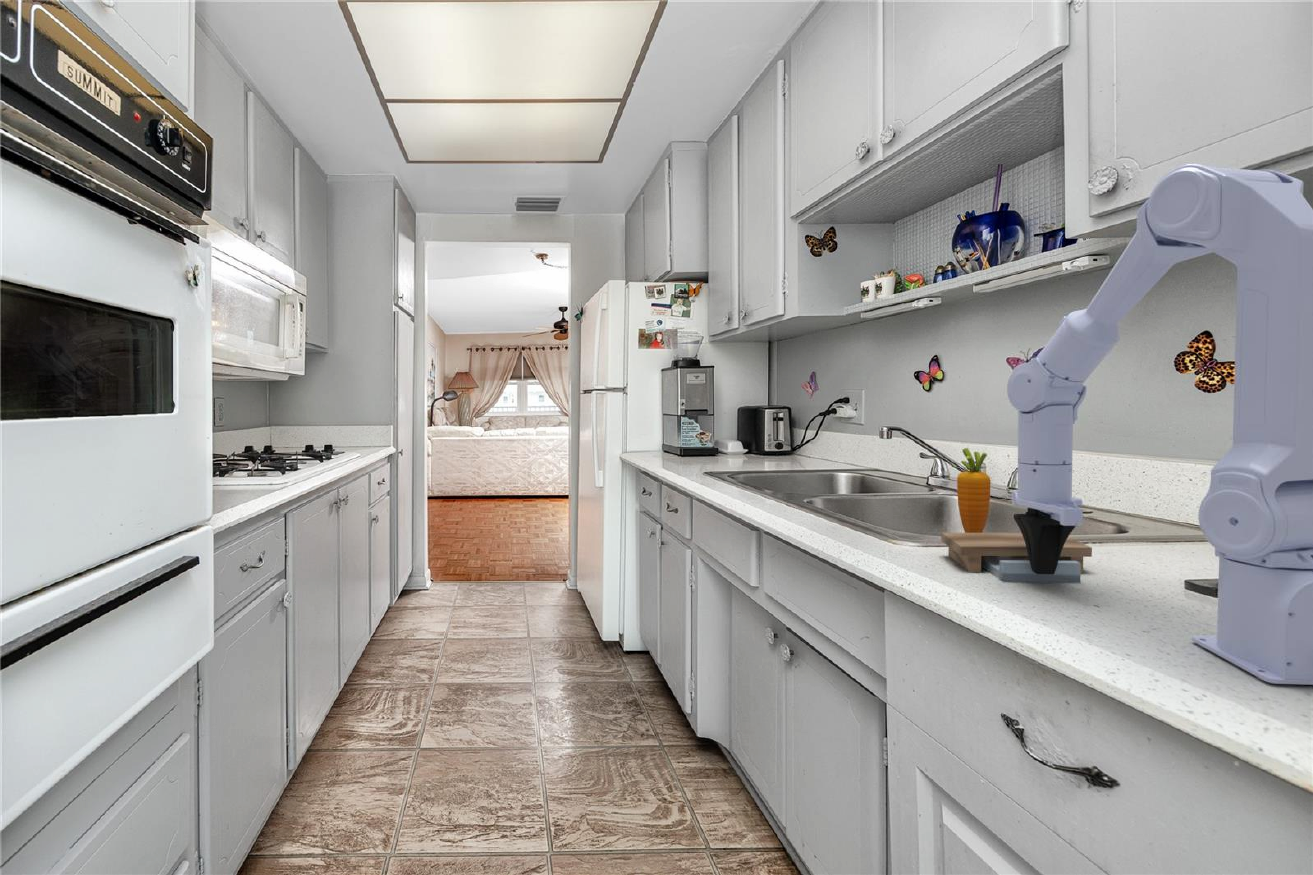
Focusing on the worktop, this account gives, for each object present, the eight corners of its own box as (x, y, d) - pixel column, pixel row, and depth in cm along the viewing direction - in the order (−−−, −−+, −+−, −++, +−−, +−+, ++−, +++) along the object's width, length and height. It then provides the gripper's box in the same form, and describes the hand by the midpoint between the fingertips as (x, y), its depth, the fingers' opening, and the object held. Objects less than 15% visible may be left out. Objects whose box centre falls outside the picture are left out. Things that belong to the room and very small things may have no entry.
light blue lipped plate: (1080, 584, 81) (1080, 563, 81) (1003, 583, 82) (1003, 562, 82) (1040, 561, 92) (1041, 543, 92) (973, 561, 93) (973, 543, 93)
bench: (1091, 573, 85) (1091, 547, 85) (961, 571, 87) (961, 546, 87) (1058, 556, 94) (1059, 533, 94) (941, 555, 96) (941, 532, 96)
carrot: (997, 546, 100) (998, 449, 100) (964, 547, 100) (965, 450, 100) (981, 539, 105) (981, 446, 105) (950, 540, 105) (950, 447, 105)
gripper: (1113, 469, 72) (1110, 590, 73) (1052, 457, 87) (1051, 558, 87) (1044, 469, 73) (1043, 589, 74) (995, 457, 88) (995, 558, 88)
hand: (1043, 572), depth 81 cm, fingers closed
